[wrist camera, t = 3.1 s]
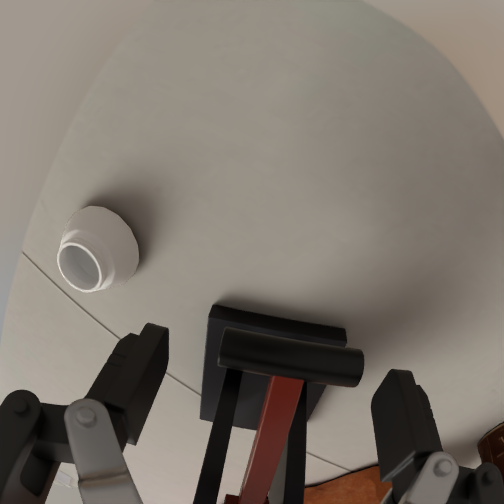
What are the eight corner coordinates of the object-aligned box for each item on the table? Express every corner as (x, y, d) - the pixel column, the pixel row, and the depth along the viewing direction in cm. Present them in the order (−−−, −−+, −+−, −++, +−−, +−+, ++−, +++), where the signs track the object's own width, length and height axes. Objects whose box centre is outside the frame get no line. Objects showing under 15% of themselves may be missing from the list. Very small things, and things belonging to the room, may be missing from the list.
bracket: (212, 303, 19) (137, 517, 7) (345, 328, 18) (365, 544, 7) (202, 407, 24) (162, 550, 13) (299, 424, 24) (289, 569, 12)
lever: (228, 318, 12) (220, 337, 10) (354, 340, 12) (372, 362, 10) (193, 517, 13) (185, 546, 10) (283, 530, 13) (284, 560, 10)
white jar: (94, 285, 19) (155, 271, 18) (71, 312, 17) (134, 300, 16) (60, 217, 17) (119, 192, 16) (31, 238, 15) (90, 211, 14)
